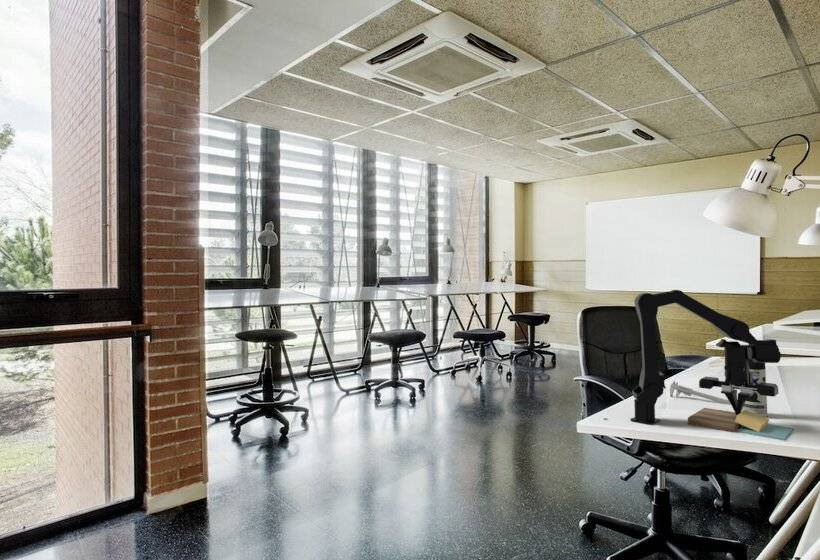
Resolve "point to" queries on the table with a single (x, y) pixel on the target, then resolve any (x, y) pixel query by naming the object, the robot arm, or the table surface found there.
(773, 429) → the mat
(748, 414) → the tile
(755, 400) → the spray can
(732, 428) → the brown slab
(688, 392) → the caliper
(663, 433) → the table surface
